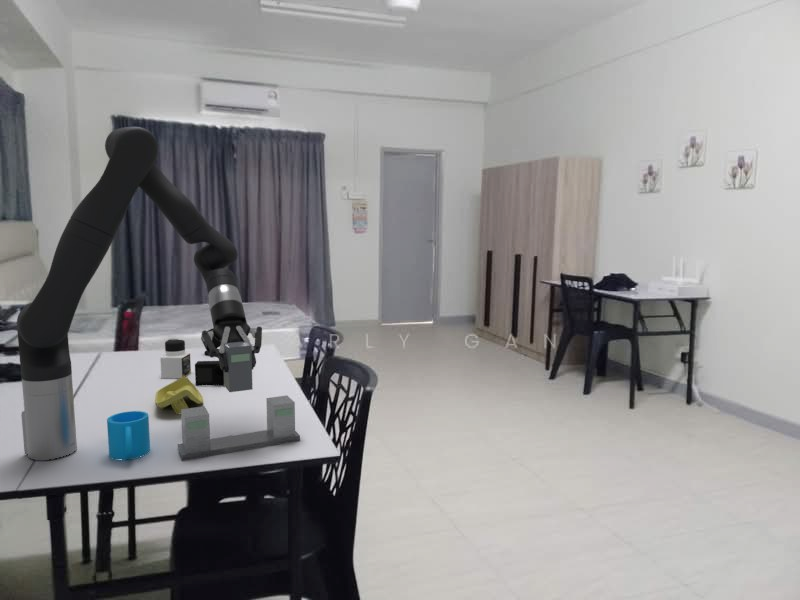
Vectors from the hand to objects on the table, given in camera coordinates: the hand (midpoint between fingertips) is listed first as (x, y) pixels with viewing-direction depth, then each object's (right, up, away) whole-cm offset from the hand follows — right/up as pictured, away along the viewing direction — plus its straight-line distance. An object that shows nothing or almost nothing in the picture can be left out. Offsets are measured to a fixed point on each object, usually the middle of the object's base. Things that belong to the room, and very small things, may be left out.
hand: (239, 368), depth 129 cm
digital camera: (-23, -11, +52) cm, 58 cm away
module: (-1, -4, +2) cm, 5 cm away
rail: (-1, -18, +3) cm, 18 cm away
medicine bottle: (-38, -10, +62) cm, 73 cm away
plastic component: (-25, -14, +30) cm, 42 cm away
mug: (-23, -19, -3) cm, 30 cm away
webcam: (-35, -6, +93) cm, 100 cm away
